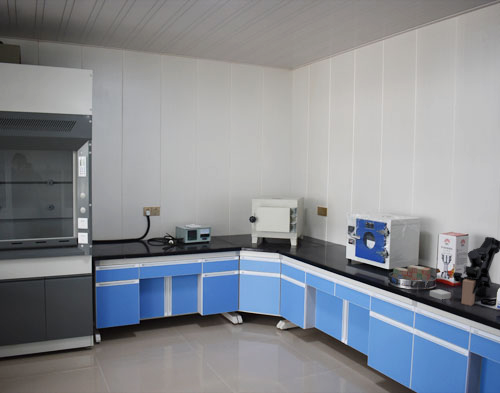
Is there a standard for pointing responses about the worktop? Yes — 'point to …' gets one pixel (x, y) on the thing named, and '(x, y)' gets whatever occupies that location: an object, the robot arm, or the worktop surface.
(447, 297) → the plinth block
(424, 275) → the stack of blocks
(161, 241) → the worktop surface
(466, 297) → the terracotta block
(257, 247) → the worktop surface
